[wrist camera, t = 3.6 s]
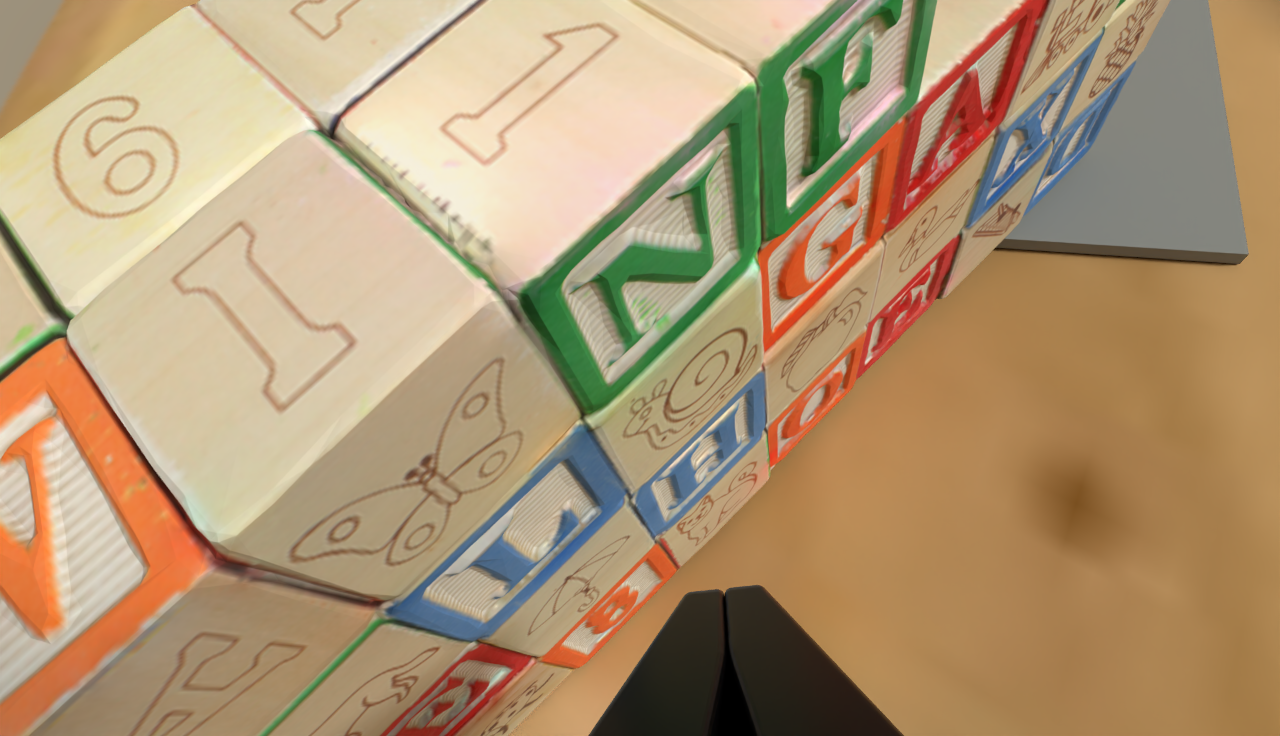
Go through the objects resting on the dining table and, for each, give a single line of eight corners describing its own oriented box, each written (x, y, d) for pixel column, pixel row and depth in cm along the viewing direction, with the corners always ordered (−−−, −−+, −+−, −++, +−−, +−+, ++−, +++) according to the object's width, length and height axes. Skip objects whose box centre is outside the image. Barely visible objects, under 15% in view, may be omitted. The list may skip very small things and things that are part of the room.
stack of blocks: (898, 45, 23) (1011, -602, 12) (1094, 152, 20) (1474, -548, 9) (317, 569, 19) (-342, 339, 8) (469, 785, 16) (-195, 903, 5)
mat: (1239, 263, 19) (1248, 254, 18) (356, 205, 24) (350, 196, 24) (1186, -86, 24) (1192, -98, 24) (474, -70, 29) (470, -80, 29)
